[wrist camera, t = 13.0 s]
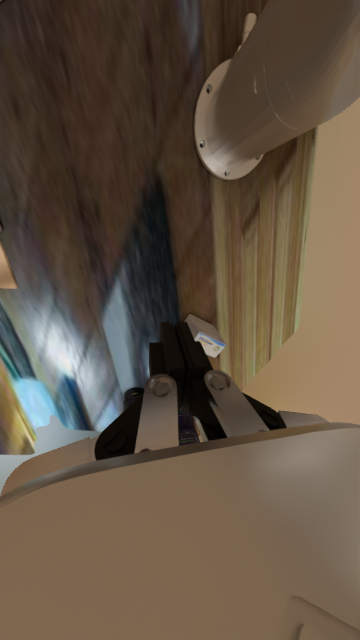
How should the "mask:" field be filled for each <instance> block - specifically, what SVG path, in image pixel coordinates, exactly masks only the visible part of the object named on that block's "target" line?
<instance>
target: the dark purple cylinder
mask: <svg viewBox="0 0 360 640" xmlns="http://www.w3.org/2000/svg"><path fill="white" fill-rule="evenodd" d="M178 441H179V446H182V445H188V444H193V443H199V442H200V441H199V438H198V434H197V432H196V429H195V425H194V419H193V415H192V414H190V412H186V411H185V407H182V406H181V403H180V409H179V415H178Z"/></svg>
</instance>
